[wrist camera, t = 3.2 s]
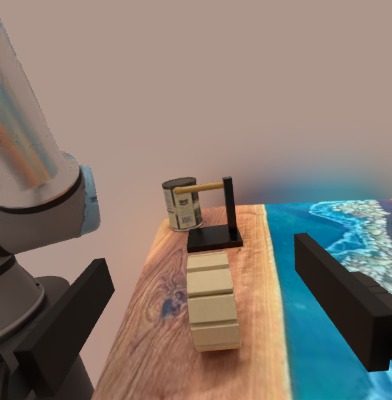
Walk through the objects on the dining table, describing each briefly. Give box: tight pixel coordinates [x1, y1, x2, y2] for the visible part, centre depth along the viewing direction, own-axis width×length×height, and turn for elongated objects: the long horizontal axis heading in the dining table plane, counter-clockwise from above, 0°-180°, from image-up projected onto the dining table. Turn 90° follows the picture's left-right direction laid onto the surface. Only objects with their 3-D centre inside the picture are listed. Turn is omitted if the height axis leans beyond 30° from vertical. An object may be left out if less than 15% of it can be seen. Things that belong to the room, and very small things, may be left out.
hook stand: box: [174, 177, 243, 253], centre depth 51 cm, size 14×10×16 cm
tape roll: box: [187, 251, 241, 352], centre depth 27 cm, size 5×11×11 cm, turn 178°
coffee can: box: [162, 177, 203, 232], centre depth 63 cm, size 10×10×14 cm
